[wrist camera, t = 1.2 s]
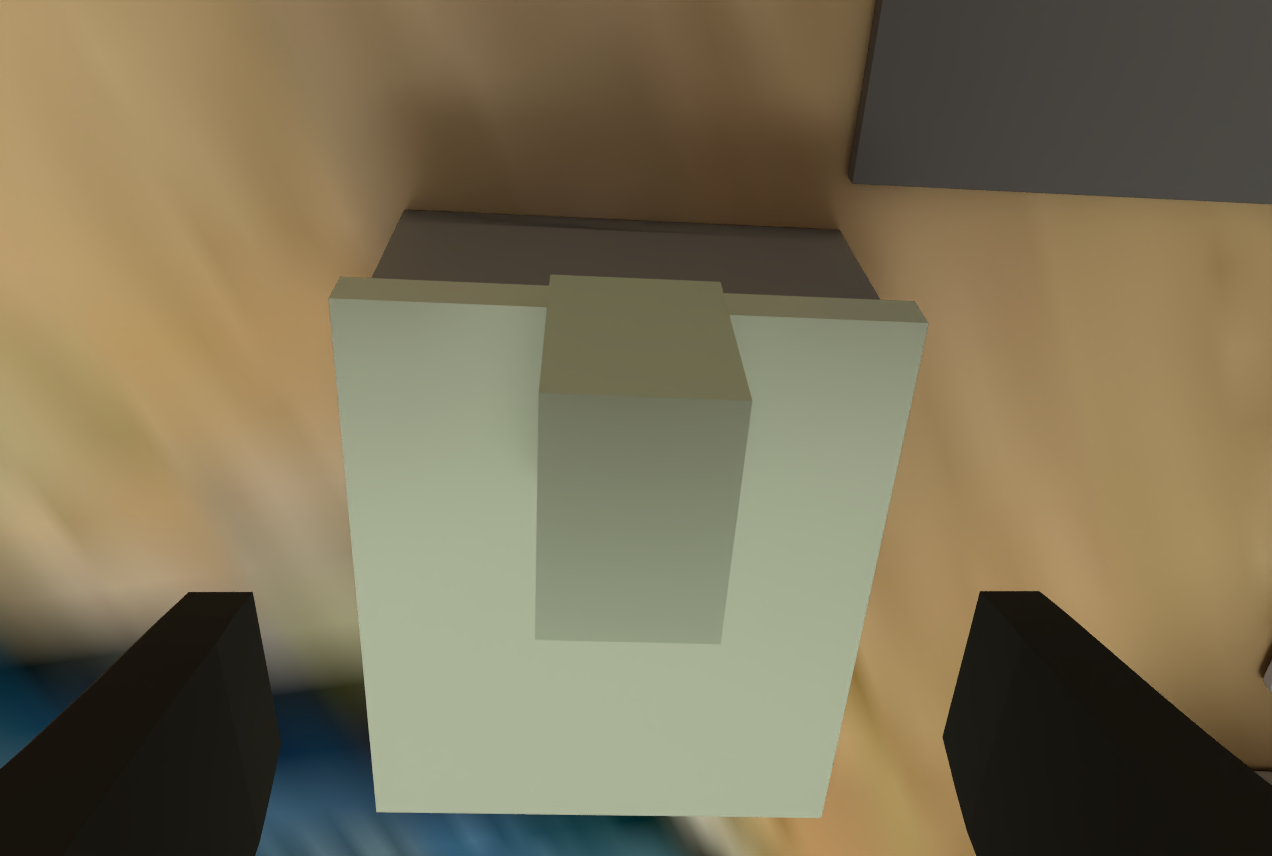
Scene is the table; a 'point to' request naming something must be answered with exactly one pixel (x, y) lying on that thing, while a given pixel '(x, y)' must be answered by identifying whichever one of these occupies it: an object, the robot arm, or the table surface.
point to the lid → (614, 536)
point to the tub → (622, 253)
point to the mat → (1070, 98)
